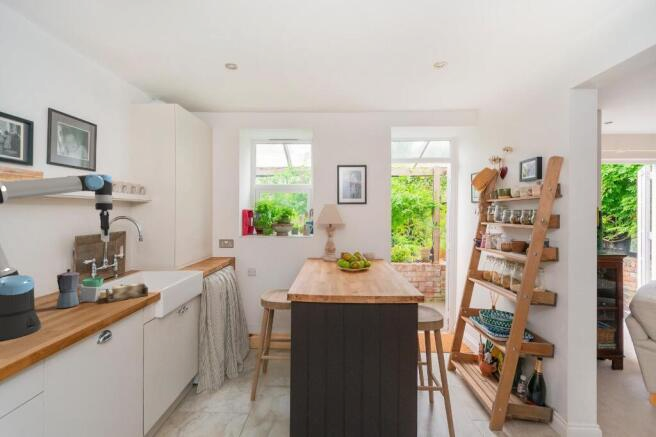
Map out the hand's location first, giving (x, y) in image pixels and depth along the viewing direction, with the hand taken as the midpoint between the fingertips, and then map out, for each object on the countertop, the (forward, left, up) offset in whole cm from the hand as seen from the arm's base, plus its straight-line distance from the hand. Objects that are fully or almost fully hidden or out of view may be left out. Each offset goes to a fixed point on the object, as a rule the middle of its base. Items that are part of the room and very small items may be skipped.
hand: (105, 241), depth 157 cm
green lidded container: (-4, +26, -35) cm, 44 cm away
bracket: (-8, +12, -35) cm, 38 cm away
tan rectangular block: (+10, +6, -34) cm, 36 cm away
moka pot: (-16, +7, -35) cm, 39 cm away
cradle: (+10, +6, -35) cm, 37 cm away
